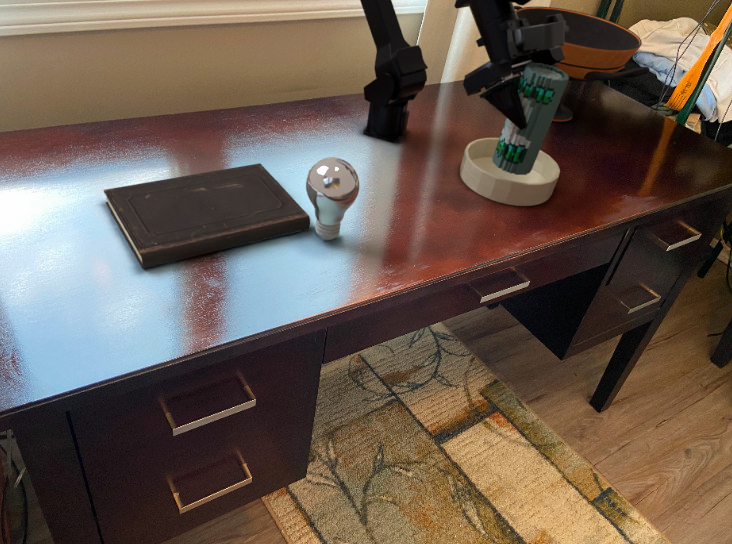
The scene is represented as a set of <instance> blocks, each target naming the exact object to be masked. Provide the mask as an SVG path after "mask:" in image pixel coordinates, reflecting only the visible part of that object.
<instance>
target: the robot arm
mask: <svg viewBox="0 0 732 544" xmlns="http://www.w3.org/2000/svg"><path fill="white" fill-rule="evenodd" d="M359 1H360V5H361V7H362V11H363V13H364V17H365V19H366V22H367V25H368V28H369V31H370V33H371V37H372V40H373V43H374V46H375V50H376V53H375V61H374V67H373V68H374V69H373V70H374V74H375V79H373V80H372V81H370V82H369V83H367V84H366V85H364V86H363V98H364V100H365V101H367V102H368V103H369V106H368V107H369V108H368V114H367V121H366V126H365V127H364V128H363V130H362V134H364V135H367V136H371V137H375V138H378V139H381V140H385V141H388V142H392V143H397V142H398V141H399V139H400V138H402V137H403V136H404V135H405V133H406V132H407V128H408V123H409V117H410V113H411V111H410V110H408V106H409V101H415V99H416V97H417V96H418V94H419V93H421V92H422V91H423V89H424V88H425V86H426V83H427V81H428V73H427V69H429V66H428V65H427V63H426V61H425V59H424V57H423V51H422V48H421V46H420V45H419V44H416V45H412V46H411V45H410V44H409V43H408V41H406V39H405V37H404V34H403V31H402V28H401V25H400V22H399V20H398V16H397V13H396V10H395V7H394V3H393V0H359ZM531 1H532V0H455V2H454V8H455V9H464V8H469V10H470V13H471V15H472V18H473V20H474V23H475V25H476V26H475V27H476V28H477V31H478V33H479V36H480V37H479V38H478V39H476V40H475V42H476V45H477V47H478V48H483V47H484V49H485V52H486V54H487V57H488V61H487V62H485V63H483V64H482V65H480V66H479V67H477V68H475V69H473V70H472V71H470V72H468V73H467V74H465V75H464V79H463V82H462V86H463V88H464V91H465V93H466V96H467V97H470V96H473V95H477V94H479V95H478V96H479V98H480V99H483V100H485V101H487V102H488V104H490V105H491V106H493V108H495V109H497V110H498V111H499V112H500V113H501V114H502V115H503V116H504V117H505V118H506V119H507V118H508V119H509V120H510V121H511V122H512V123H513V124H514V125H515V126H517V127H518V128H519V129H520V130H522V129H525V128H526V127H527V123H526V118H525V114H524V111H523V107H522V104H521V100H520V97H519V93H518V87H519V83H520V80H521V77H522V74H523V72H524V69H525V66H526V65H527V64H528V63H531V62H533V63H543V64H545V65H549V66H553V67H556V68H557V65H558V64H556V63H558V62H560V61H561V60H563V59H565V57H564V54H563V51H562V49H561V47H560V45H561V46H563V45H565V41H564V36H565V35H566V33H568V32H569V27H568V26H567V25H566V20H564V18H563V16H562V14H556V15H550V16H546V18H545V21H544V24H540V25H535V26H529V23H528V21H527V19H525V18H519V19H518V17H517V14H516V10H515V9H514V6H515V5H514V4H513V3H515V4H517V6H521V7H522V6H525V5H527V4H528V3H530V2H531ZM483 89H485V91H484V92H482V90H483ZM481 92H482V93H481ZM480 93H481V94H480Z"/></svg>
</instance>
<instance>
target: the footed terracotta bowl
mask: <svg viewBox="0 0 732 544" xmlns="http://www.w3.org/2000/svg"><path fill="white" fill-rule="evenodd" d="M513 6H514V9H515V11H516V14H517V17H518V19H519V18H525V19H527V21H528V23H529V26H535V25H540V24H544V21H545V18H546V16H550V15H556V14H562V16H563V18H564V20H566V25H567V26H568V27H569V32H568V33H566V35H565V36H564V41H565V45H563V46H561V45H560V47H561V49H562V51H563V54H564V57H565V59H563V60H561V61H560V62H558V63H556V64H558V65H557V69H559V70H562V71H563V72H565V73H566V74H567V75H569V76H568V77H569V80H568V82H576V83H578V82H579V83H587V82H594V81H596V82H597V81H600V82H601V81H614V80H619V79H632V78H637V77H640V76H644V75H645V74H648V73H649V72H650V71H651V69H650V67H649V66H641V67H637V68H636V67H635V68H632V69H625V67H626V65H627V63H628V62H629V60H630V59H631V58H632V57H633V56H634V55H635V53H637V51H639V49H640V48H641V46H642V45H643V42H642V39H641V38H640V37H639V36H638V35H637V34H636V33H635V32H633V31H632V30H630V29H628V28H627V27H625V26H623V25H621V24H619V23H616V22H614V21H611V20H608V19H605V18H602V17H600V16H597V15H593V14H589V13H585V12H580V11H577V10H572V9H567V8H566V9H565V8H560V7H551V6H524V7H522V6H521V5H513ZM573 116H574V114H573V111H571V109H570V108H568V107H566V106H565V105H563V104H562V99H561V100H560V102H559V105H558V107H557V109H556V112H555V114H554V117H553V119H552V122H568V121H570V120H572V119H573Z"/></svg>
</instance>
